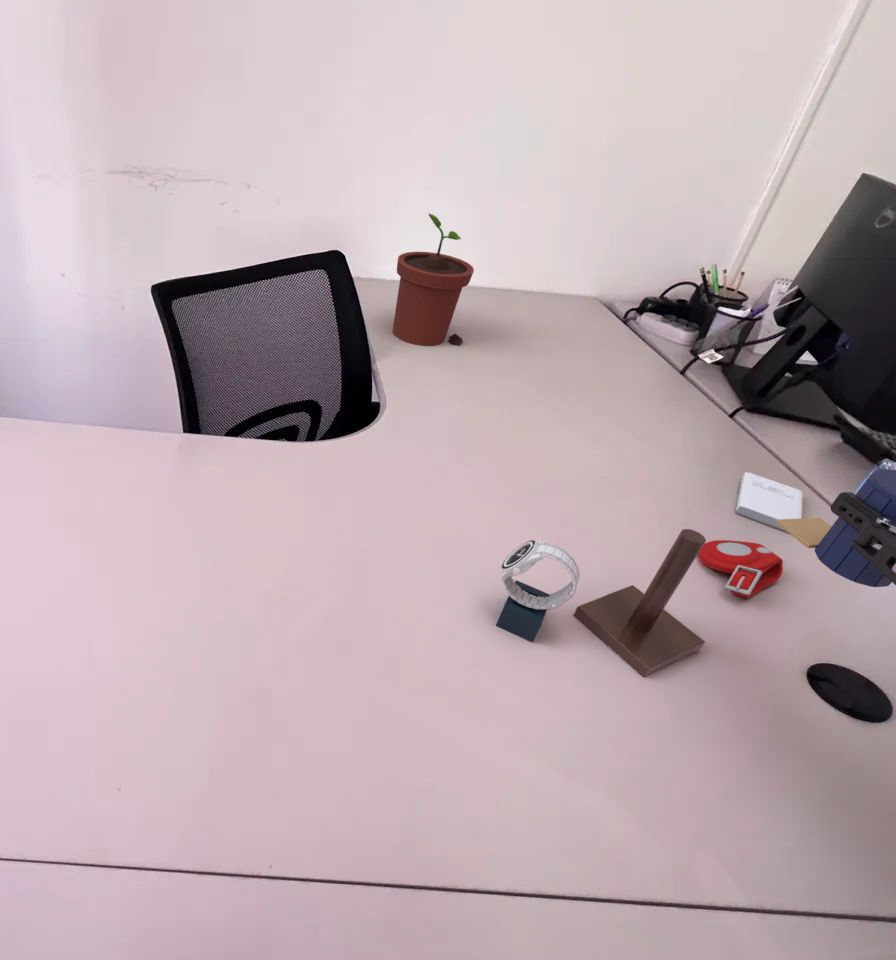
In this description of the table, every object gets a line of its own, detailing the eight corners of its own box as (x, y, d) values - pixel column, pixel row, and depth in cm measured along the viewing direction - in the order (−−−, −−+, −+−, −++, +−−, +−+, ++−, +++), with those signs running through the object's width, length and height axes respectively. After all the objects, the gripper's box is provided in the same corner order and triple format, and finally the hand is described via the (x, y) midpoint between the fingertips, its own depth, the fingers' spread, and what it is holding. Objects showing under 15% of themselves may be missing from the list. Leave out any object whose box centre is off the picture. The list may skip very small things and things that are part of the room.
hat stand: (627, 593, 86) (681, 499, 77) (699, 650, 79) (767, 554, 70) (573, 614, 82) (622, 518, 73) (643, 677, 74) (707, 578, 66)
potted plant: (363, 325, 151) (385, 209, 137) (427, 310, 163) (453, 201, 148) (422, 356, 140) (453, 233, 126) (486, 337, 152) (521, 223, 137)
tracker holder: (683, 537, 95) (758, 528, 94) (681, 564, 96) (754, 556, 95) (737, 581, 83) (823, 572, 82) (733, 611, 85) (818, 603, 84)
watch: (492, 591, 84) (520, 522, 77) (558, 620, 81) (592, 551, 74) (479, 618, 80) (507, 548, 73) (548, 650, 76) (583, 579, 70)
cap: (907, 585, 62) (976, 508, 57) (854, 589, 61) (919, 510, 56) (820, 520, 69) (874, 446, 64) (772, 522, 68) (822, 448, 63)
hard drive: (734, 513, 103) (740, 478, 111) (796, 536, 99) (798, 498, 108) (739, 505, 102) (745, 470, 110) (802, 528, 98) (804, 490, 107)
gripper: (1190, 595, 48) (956, 462, 61) (1036, 608, 45) (826, 467, 59) (1105, 663, 52) (903, 526, 66) (960, 679, 50) (780, 532, 63)
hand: (867, 498), depth 62 cm, fingers closed on cap, 6 cm apart
